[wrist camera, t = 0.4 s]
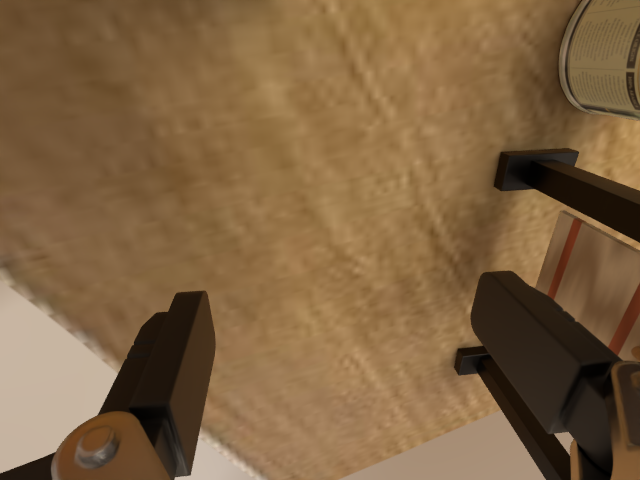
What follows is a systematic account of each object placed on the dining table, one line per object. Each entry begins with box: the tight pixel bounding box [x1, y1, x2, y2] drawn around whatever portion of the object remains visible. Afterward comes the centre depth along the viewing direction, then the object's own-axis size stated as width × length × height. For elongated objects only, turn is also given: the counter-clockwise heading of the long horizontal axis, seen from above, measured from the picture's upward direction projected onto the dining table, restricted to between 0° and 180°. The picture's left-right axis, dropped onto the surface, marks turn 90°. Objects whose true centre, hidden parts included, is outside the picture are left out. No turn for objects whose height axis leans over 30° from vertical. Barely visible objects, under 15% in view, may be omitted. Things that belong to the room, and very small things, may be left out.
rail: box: [454, 148, 640, 480], centre depth 28 cm, size 25×6×17 cm, turn 1°
